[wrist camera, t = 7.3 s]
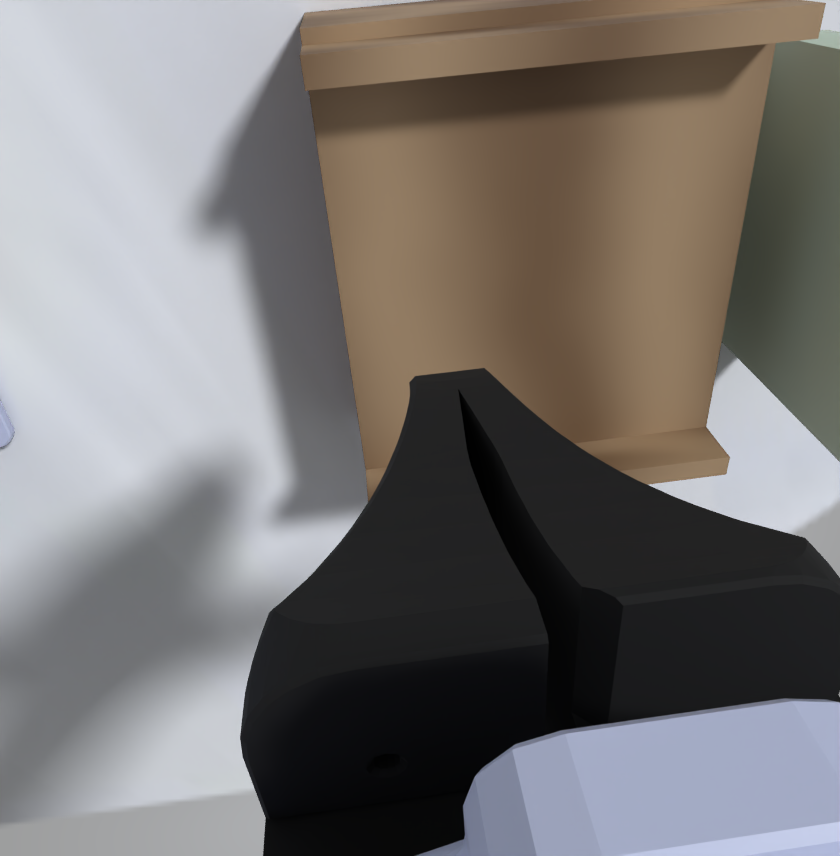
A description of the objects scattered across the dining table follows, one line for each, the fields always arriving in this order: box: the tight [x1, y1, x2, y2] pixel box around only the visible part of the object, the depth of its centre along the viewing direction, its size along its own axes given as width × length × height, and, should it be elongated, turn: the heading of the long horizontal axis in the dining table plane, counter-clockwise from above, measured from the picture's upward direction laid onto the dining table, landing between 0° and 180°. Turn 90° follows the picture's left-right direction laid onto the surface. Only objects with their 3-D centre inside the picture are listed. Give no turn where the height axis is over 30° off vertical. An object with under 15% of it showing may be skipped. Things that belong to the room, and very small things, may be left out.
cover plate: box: [722, 30, 840, 462], centre depth 19 cm, size 7×9×2 cm
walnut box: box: [300, 0, 826, 502], centre depth 19 cm, size 10×12×6 cm
